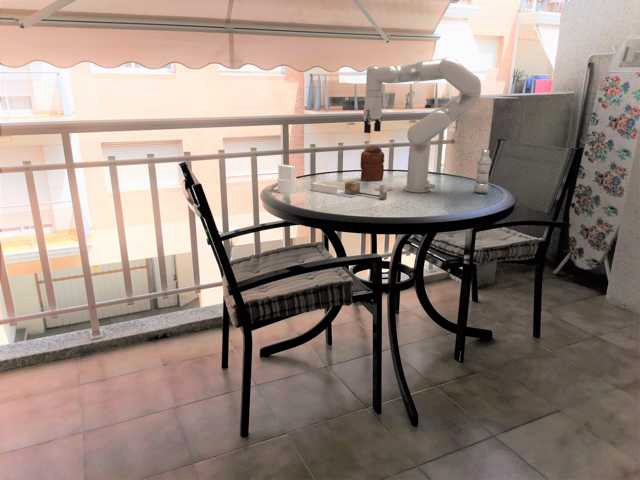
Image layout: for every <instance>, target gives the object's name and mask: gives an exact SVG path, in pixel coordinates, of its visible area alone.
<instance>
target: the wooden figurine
mask: <svg viewBox="0 0 640 480" xmlns="http://www.w3.org/2000/svg"><path fill="white" fill-rule="evenodd" d="M384 162H385V153H384V152H383V151H382V148H381V147H380V146H378V145H369V146H368V147H367V148H366V149H364V151H362V152H361V154H360V163H359V164H360V165H359V166H360V169H361V173H360V180H361V181H363V182H364V181H365V182H379V181H380V182H381V181H383V180H384V168H385V165H384Z"/></svg>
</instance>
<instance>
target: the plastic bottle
mask: <svg viewBox="0 0 640 480" xmlns="http://www.w3.org/2000/svg"><path fill="white" fill-rule="evenodd" d="M490 152H491V151H490V149H481V152H480V156H479V157H478V158H477V161H476V169H477V170H476V178H475V182H474V185H473V191H474V192H475V193H477V192H478V193H477V194H486V193H488V191H489V173H490V169H491V166H492V158H491V157H490Z"/></svg>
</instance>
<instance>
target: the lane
mask: <svg viewBox="0 0 640 480" xmlns="http://www.w3.org/2000/svg"><path fill="white" fill-rule="evenodd" d="M310 190H311V191H312V192H319V193H325V194H330V195H336V194H338V193H341V192H344V191H345V182H341V181H334V180H333V181H332V180H327V179H321V180H318V181H314V182H311V183H310Z"/></svg>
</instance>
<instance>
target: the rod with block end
mask: <svg viewBox="0 0 640 480" xmlns="http://www.w3.org/2000/svg"><path fill="white" fill-rule="evenodd" d="M344 183H345V193H346V194H352V195H355V194H360V195H362V196H363V195H364V196H372V197H377V198H379V199H382V200H383V199H387V196H388V185H387V184H379V194H373V193H367V192H365V193H361V192H362V191H361V182H360V181H356V180H355V181H354V180H349V181H347V182H344ZM360 191H361V192H360Z"/></svg>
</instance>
